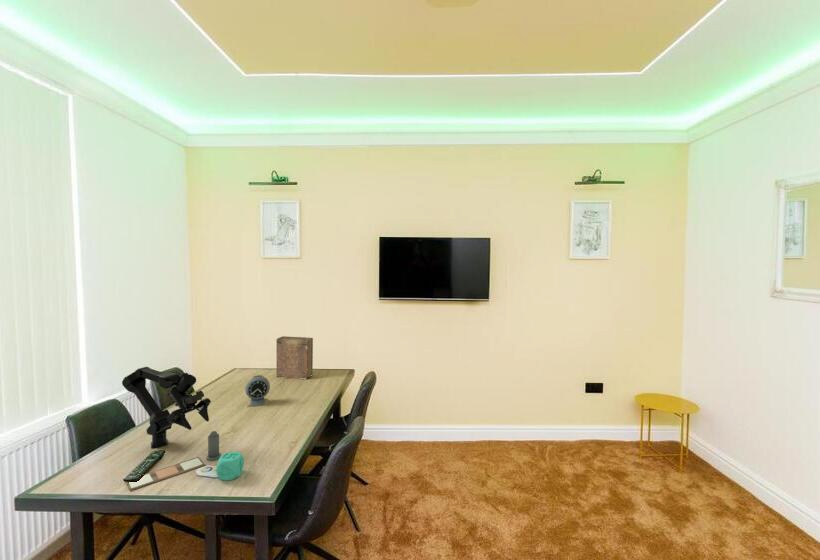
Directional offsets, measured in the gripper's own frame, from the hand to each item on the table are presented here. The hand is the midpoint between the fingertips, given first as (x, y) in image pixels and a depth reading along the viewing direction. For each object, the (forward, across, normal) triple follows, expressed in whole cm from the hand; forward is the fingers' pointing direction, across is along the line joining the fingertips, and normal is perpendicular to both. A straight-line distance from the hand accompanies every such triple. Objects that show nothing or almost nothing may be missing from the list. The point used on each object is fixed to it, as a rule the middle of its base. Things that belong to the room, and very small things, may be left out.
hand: (199, 425), depth 169 cm
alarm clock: (-5, +60, +24) cm, 64 cm away
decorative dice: (+28, -8, -8) cm, 30 cm away
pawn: (+15, 0, +4) cm, 16 cm away
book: (-14, +113, +33) cm, 119 cm away
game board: (+10, -16, +9) cm, 21 cm away
